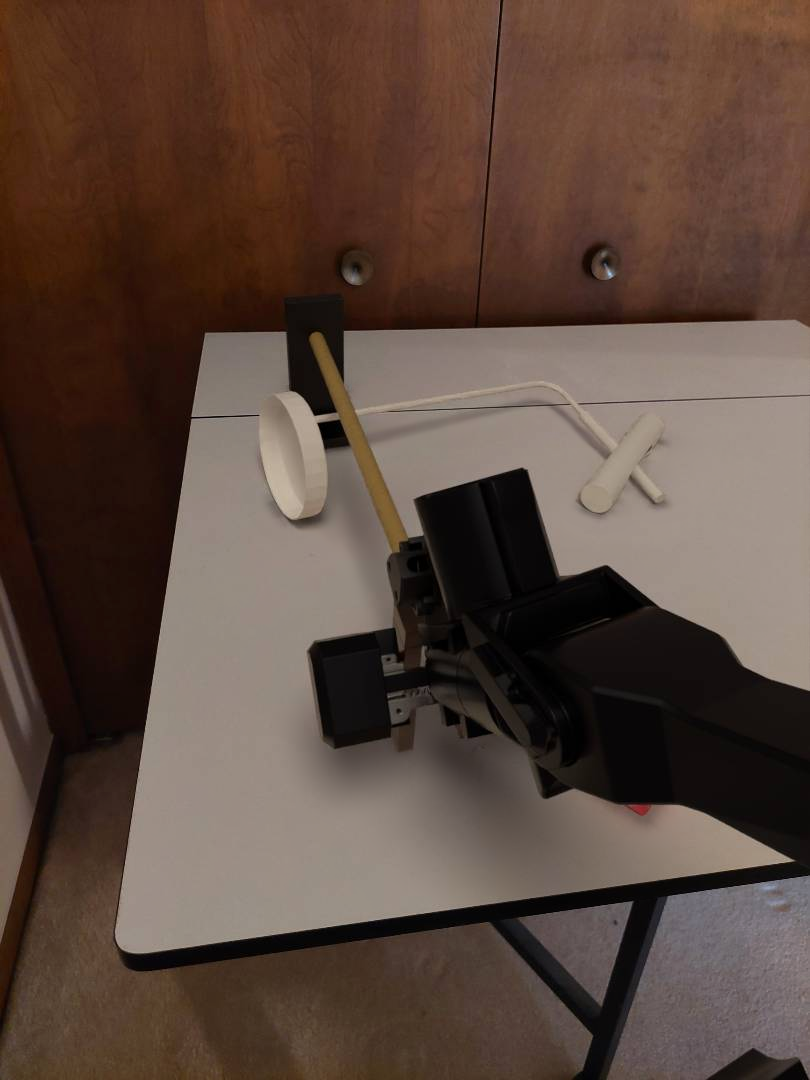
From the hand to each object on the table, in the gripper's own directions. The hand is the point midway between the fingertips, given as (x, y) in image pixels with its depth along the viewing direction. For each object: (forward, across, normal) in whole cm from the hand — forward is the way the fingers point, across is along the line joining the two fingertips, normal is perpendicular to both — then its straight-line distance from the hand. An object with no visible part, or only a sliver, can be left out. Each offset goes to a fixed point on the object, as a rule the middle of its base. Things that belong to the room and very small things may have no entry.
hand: (431, 656), depth 57 cm
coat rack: (+23, 0, -10) cm, 25 cm away
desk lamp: (+28, -16, -14) cm, 35 cm away
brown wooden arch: (+4, 0, +6) cm, 7 cm away
